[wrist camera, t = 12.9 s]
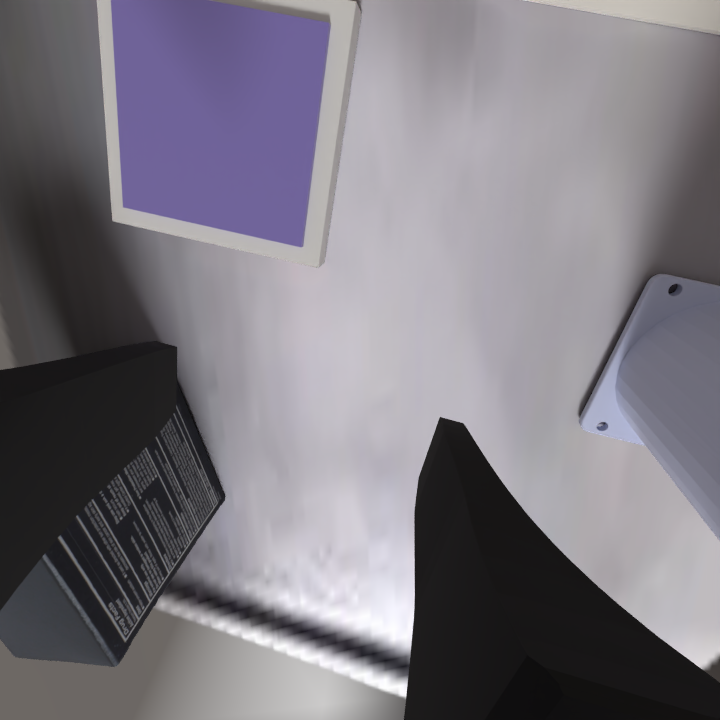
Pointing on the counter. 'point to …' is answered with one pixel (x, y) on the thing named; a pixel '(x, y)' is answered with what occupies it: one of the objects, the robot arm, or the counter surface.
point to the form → (653, 11)
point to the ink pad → (228, 118)
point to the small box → (116, 554)
